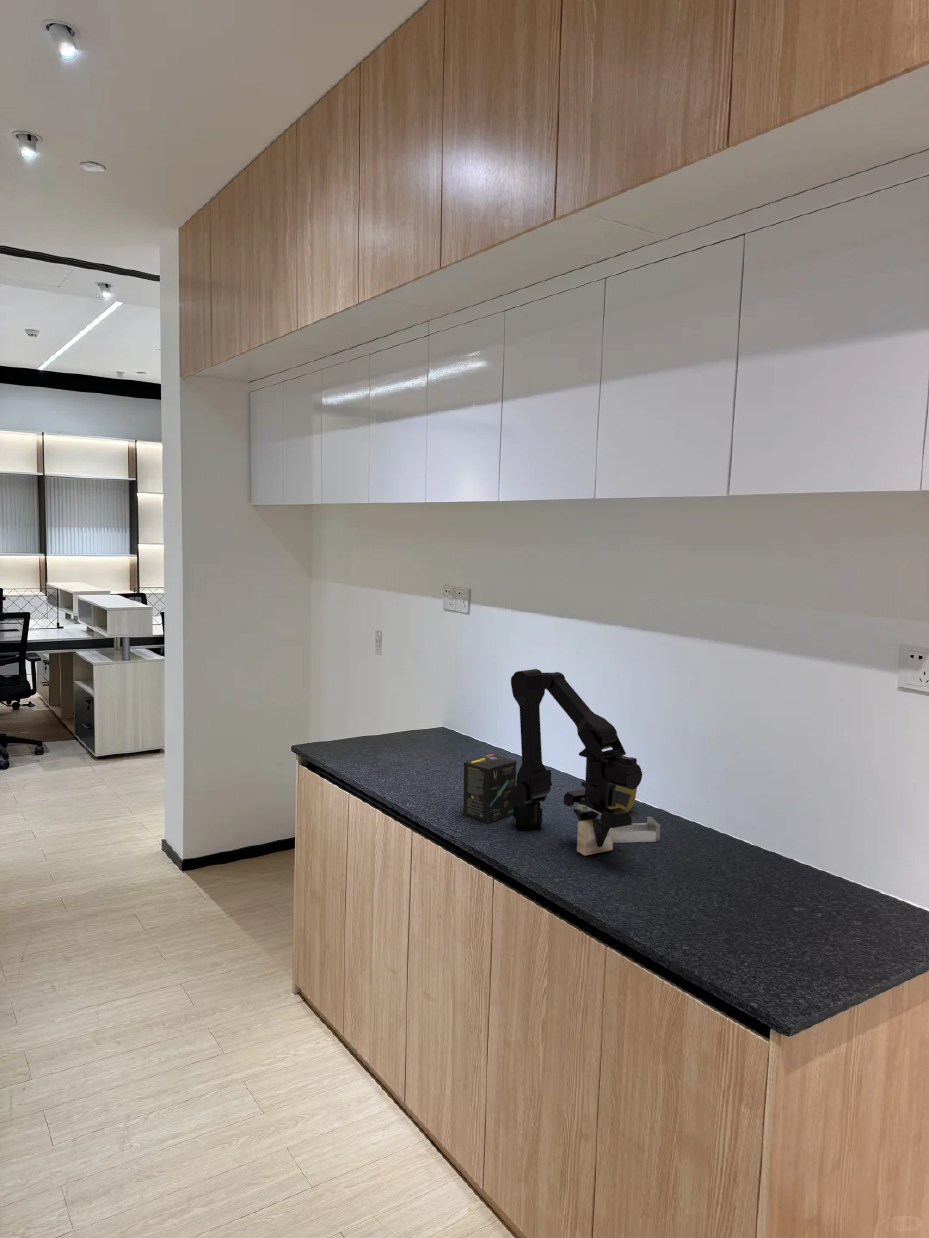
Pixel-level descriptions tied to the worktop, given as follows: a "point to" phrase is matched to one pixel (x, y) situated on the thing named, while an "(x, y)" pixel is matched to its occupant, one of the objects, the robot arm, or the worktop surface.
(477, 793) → the tampon box
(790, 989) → the worktop surface
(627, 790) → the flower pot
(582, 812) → the robot arm
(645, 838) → the bottom track
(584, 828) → the door panel
